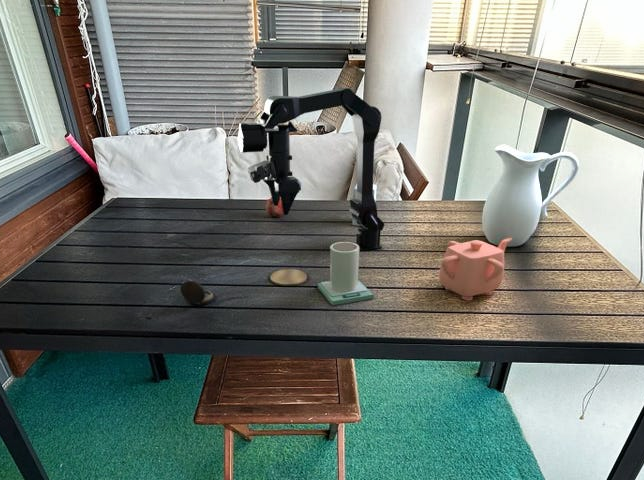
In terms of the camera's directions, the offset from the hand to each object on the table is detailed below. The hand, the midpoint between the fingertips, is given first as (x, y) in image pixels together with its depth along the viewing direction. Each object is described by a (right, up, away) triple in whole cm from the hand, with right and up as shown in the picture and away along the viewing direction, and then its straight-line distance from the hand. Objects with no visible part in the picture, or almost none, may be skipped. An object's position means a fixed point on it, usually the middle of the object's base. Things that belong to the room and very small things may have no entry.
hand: (280, 210), depth 136 cm
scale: (+18, -25, -11) cm, 32 cm away
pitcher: (+74, -5, +19) cm, 77 cm away
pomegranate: (-5, +11, +44) cm, 45 cm away
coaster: (+2, -20, -3) cm, 20 cm away
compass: (-20, -28, -14) cm, 37 cm away
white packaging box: (+27, +6, +36) cm, 45 cm away
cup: (+17, -23, -12) cm, 31 cm away
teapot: (+50, -24, -10) cm, 57 cm away
